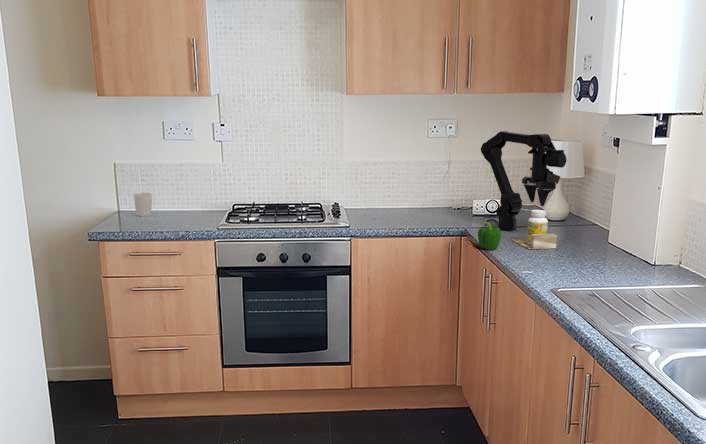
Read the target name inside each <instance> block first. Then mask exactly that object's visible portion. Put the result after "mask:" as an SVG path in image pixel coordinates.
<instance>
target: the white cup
mask: <svg viewBox="0 0 706 444" xmlns="http://www.w3.org/2000/svg"><path fill="white" fill-rule="evenodd" d="M152 195H153V194H152V193H151V192H137V193H133V199H134V208H135V213H136V216H137V217H148V216H149V217H150V216H151V215H152V208H153V207H152V206H153V205H152V197H153V196H152Z"/></svg>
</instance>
